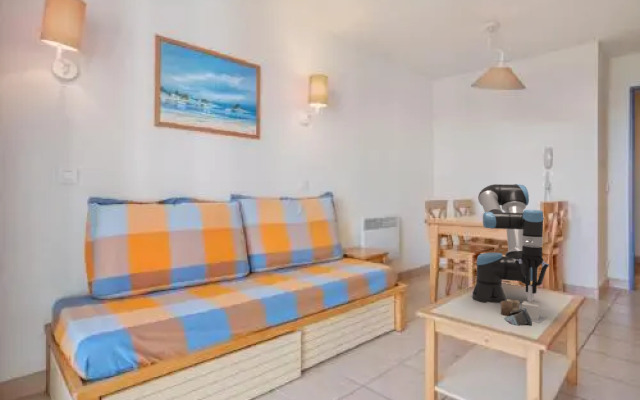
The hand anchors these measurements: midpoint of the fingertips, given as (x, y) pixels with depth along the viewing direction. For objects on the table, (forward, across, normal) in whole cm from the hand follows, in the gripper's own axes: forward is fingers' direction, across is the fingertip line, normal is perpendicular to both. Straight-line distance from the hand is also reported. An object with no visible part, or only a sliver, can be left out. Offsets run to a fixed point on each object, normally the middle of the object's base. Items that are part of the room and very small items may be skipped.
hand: (530, 300), depth 159 cm
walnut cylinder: (+8, -8, -4) cm, 12 cm away
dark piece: (+8, -3, -11) cm, 14 cm away
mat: (+8, 0, 0) cm, 8 cm away
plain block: (+7, 0, 0) cm, 7 cm away
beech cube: (+8, -8, +4) cm, 12 cm away
